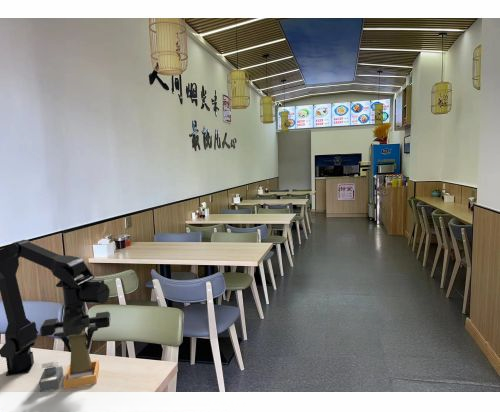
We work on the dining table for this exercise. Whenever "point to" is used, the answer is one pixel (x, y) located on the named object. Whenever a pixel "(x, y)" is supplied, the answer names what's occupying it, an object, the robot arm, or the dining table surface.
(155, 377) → the dining table surface
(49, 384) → the breaker box
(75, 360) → the olive vase
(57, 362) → the breaker rocker
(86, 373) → the orange square tray
